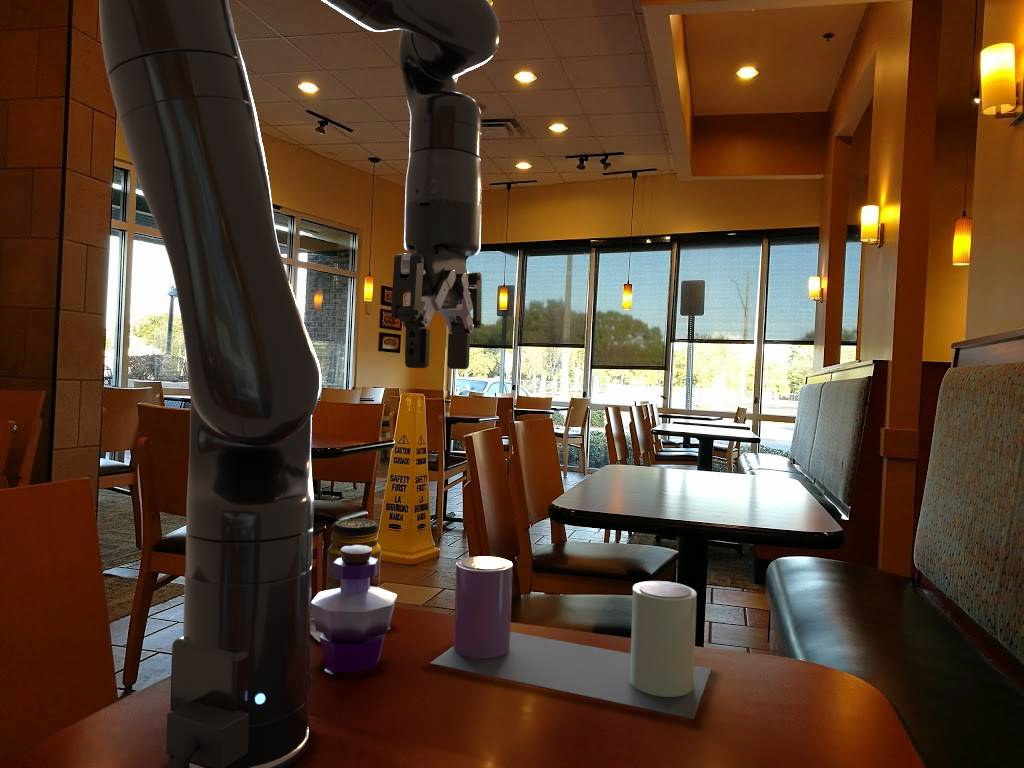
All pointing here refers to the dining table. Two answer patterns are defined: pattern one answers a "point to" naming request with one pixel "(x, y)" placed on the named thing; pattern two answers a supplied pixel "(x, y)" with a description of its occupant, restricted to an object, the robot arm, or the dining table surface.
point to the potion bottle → (353, 613)
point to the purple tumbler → (483, 607)
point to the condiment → (350, 535)
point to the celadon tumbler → (663, 638)
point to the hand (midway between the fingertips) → (438, 368)
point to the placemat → (576, 673)
